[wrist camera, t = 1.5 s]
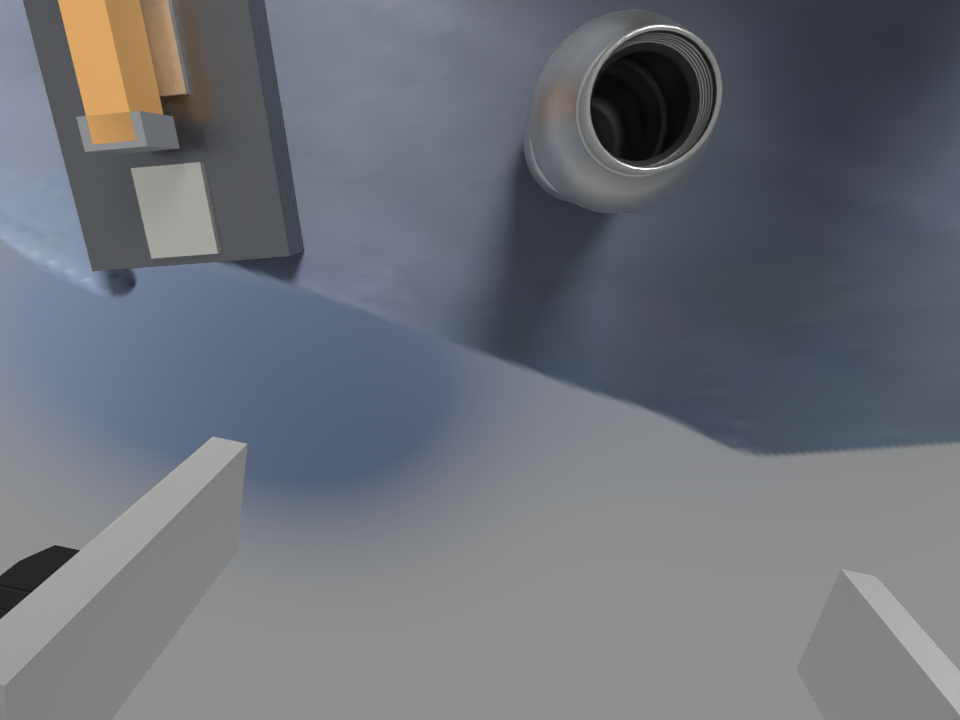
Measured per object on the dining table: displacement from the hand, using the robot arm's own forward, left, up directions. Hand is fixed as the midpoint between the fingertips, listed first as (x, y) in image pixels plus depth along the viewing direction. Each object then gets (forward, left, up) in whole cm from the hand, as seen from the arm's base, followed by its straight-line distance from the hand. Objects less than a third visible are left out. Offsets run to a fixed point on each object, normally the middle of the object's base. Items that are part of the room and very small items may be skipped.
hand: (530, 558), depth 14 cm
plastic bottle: (-10, +4, -26) cm, 28 cm away
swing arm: (-18, -19, -22) cm, 34 cm away
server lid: (-12, -19, -26) cm, 34 cm away
